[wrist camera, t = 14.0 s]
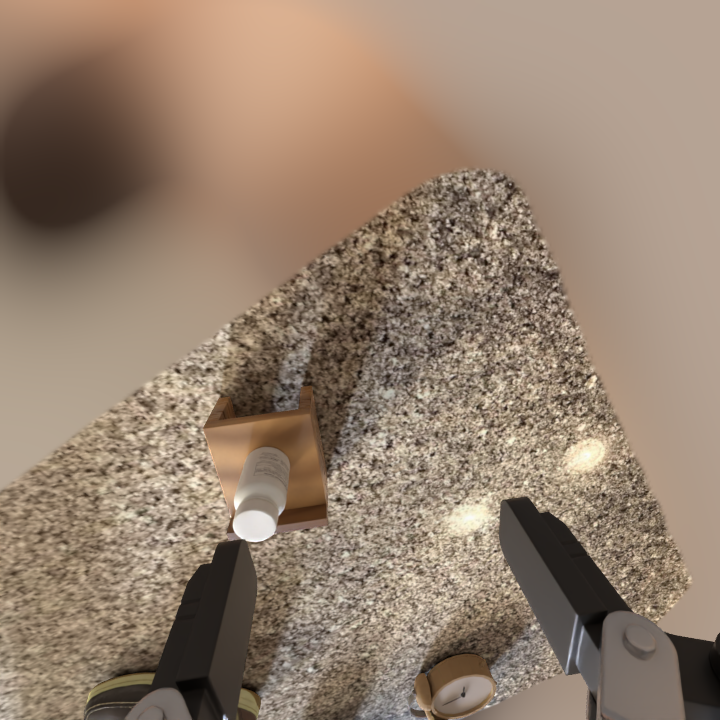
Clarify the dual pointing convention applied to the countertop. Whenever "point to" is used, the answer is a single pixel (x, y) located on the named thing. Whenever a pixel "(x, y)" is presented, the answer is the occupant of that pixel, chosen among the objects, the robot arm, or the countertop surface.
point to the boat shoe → (125, 691)
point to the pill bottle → (261, 494)
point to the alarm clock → (453, 688)
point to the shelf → (280, 431)
